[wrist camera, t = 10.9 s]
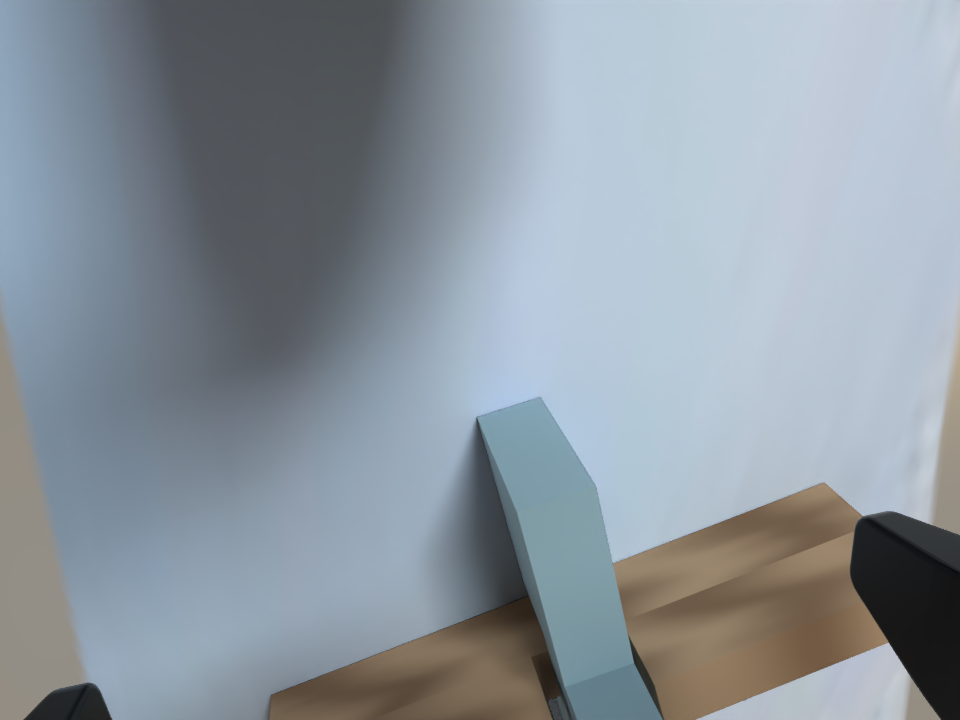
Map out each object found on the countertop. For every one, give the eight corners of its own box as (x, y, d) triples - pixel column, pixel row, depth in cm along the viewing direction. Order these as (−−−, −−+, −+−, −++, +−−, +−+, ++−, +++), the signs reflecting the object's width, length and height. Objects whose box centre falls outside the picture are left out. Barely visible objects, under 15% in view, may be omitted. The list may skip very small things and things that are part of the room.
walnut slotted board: (294, 734, 26) (289, 881, 21) (271, 695, 25) (260, 839, 21) (829, 526, 27) (932, 624, 23) (824, 482, 26) (929, 575, 22)
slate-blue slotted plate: (624, 749, 29) (724, 981, 22) (576, 767, 29) (660, 1005, 22) (540, 397, 23) (644, 564, 15) (476, 416, 23) (551, 595, 15)
